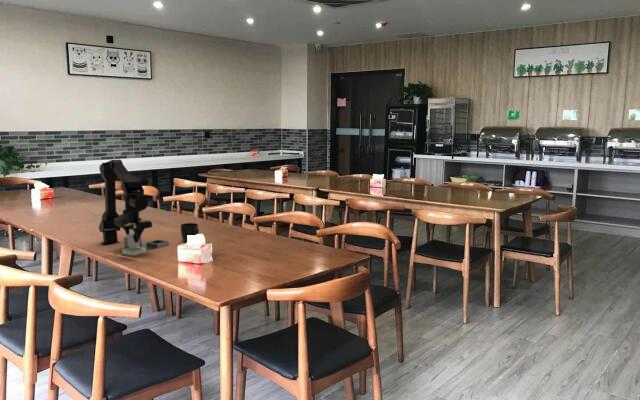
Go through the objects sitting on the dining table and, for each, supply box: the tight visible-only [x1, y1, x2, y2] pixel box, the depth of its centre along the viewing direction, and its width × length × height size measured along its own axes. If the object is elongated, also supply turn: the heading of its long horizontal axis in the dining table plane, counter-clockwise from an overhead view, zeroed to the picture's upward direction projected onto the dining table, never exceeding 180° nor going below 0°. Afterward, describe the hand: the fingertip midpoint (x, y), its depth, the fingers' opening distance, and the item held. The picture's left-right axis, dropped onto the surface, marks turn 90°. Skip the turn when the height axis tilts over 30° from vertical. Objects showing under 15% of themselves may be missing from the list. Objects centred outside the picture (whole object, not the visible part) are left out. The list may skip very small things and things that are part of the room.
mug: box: [180, 222, 200, 244], centre depth 258 cm, size 8×12×10 cm
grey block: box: [126, 228, 140, 248], centre depth 236 cm, size 4×4×8 cm
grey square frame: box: [120, 247, 147, 259], centre depth 237 cm, size 8×8×3 cm
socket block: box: [123, 236, 170, 252], centre depth 248 cm, size 14×15×6 cm
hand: (133, 241), depth 237 cm, fingers closed on grey block, 4 cm apart
